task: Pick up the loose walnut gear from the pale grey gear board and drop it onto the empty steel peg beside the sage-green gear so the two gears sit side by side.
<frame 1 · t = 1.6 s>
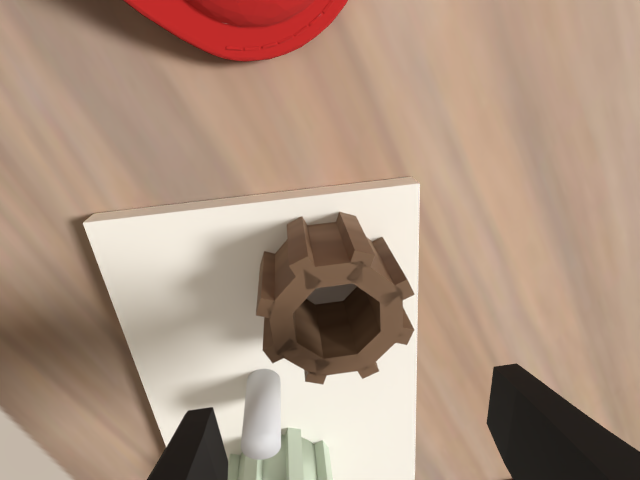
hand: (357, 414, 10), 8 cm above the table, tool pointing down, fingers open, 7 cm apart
walnut gear: (326, 273, 17), point 1 cm above the table, touching gear board
gear board: (286, 379, 20), on the table
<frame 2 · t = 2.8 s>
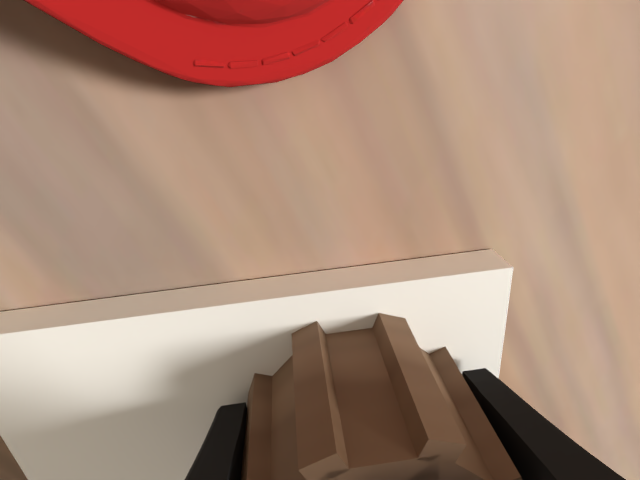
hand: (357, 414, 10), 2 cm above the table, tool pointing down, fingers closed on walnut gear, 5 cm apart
walnut gear: (354, 399, 11), point 1 cm above the table, touching gear board, gripper
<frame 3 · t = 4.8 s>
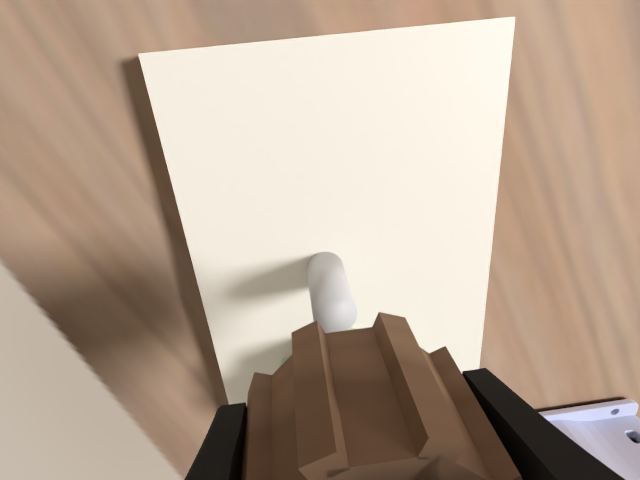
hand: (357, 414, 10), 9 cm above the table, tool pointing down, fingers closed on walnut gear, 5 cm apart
walnut gear: (353, 399, 11), point 8 cm above the table, touching gripper
gear board: (345, 273, 19), on the table
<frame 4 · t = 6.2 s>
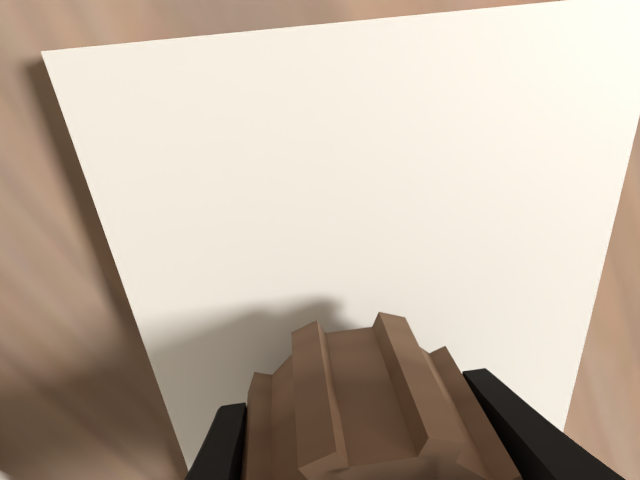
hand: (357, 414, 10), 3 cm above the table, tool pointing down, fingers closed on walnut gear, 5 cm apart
walnut gear: (353, 398, 11), point 2 cm above the table, touching gripper
gear board: (373, 363, 13), on the table
when the fingers open (3 cm above the table, at t = 7.1 s): walnut gear drops 1 cm, resting on gear board.
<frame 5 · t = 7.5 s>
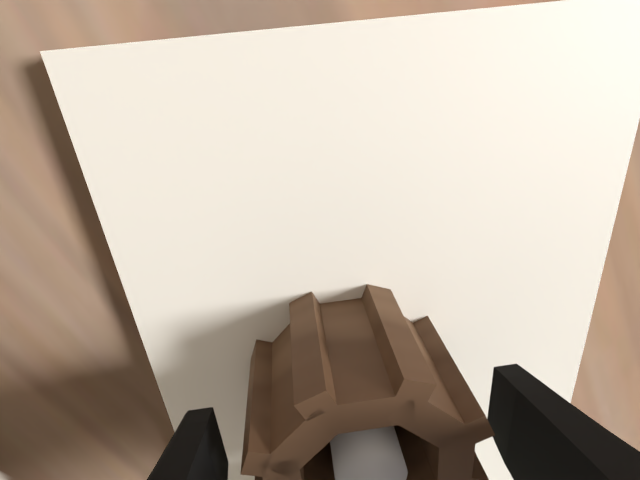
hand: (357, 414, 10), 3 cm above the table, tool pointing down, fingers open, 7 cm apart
walnut gear: (346, 365, 12), point 1 cm above the table, touching gear board
gear board: (373, 363, 13), on the table
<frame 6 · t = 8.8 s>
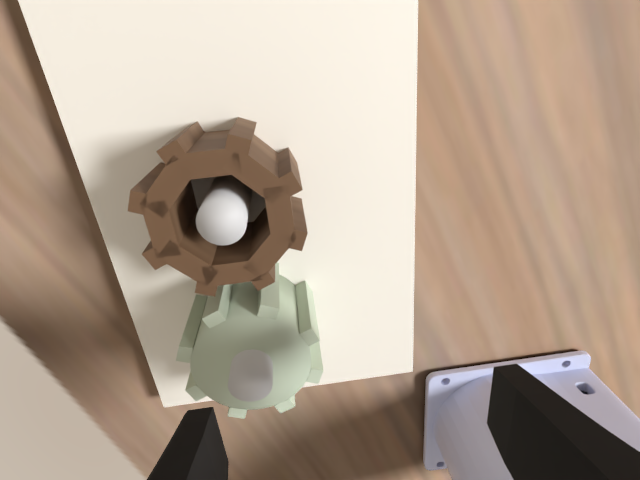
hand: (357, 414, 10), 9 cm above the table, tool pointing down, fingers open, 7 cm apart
walnut gear: (231, 189, 16), point 1 cm above the table, touching gear board
gear board: (261, 201, 17), on the table
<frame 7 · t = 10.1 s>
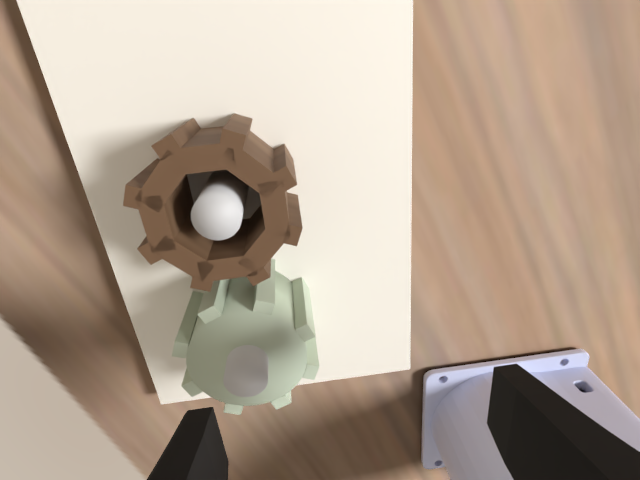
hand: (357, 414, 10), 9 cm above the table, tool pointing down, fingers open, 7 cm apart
walnut gear: (228, 185, 16), point 1 cm above the table, touching gear board
gear board: (258, 198, 17), on the table
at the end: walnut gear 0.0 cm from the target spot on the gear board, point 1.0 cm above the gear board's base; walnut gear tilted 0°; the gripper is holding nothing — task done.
